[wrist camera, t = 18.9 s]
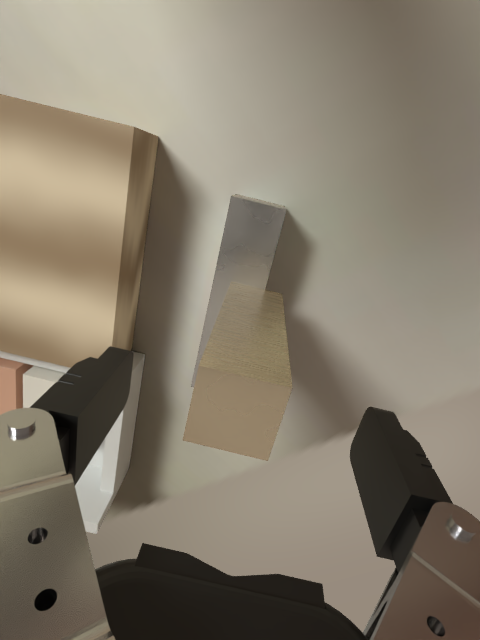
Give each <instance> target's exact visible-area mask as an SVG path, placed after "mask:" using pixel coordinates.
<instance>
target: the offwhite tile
mask: <svg viewBox="0 0 480 640" xmlns="http://www.w3.org/2000/svg"><path fill="white" fill-rule="evenodd" d="M64 374H66V373H63V372H59V371H55V370H51V369H46V368H42V367H38V366H33V367H32V368H30V369H29V370H28V371H26V372H25V373H24V374H23V408H30V407H31V406H32V405H33V404H34V403H35V402H36V401H37V400H38V399H39V398H40V397H41V396H42V395H43V394H44V393H45V392H46V391H47V390H48V389H49V388H50V387H51V386H53V385H54V384H55V383H56V382H58V380H59V379H60V378H61V377H62V376H63V375H64Z"/></svg>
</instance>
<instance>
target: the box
mask: <svg viewBox="0 0 480 640" xmlns="http://www.w3.org/2000/svg"><path fill="white" fill-rule="evenodd" d="M133 355H134V357H133V367H132V375H131V384H130V392H129V396H128V400H127V403H126V405H125V407H124V409H123V411H122V412H121V414H120V415H119V417H118V419H117V420H116V422H115V423H114V425H113V426H112V428H111V430H110V431H109V433H108V434H107V436H106V437H105V439H104V441H103V442H102V444H101V445H100V447H99V449H98V450H97V452H96V453H95V455H94V456H93V458H92V460H91V461H90V463H89V464H88V466H87V468H86V469H85V471H84V472H83V474H82V475H81V477H80V479H79V480H78V482H77V483H76V485H75V489H76V493H77V498H78V502H79V506H80V510H81V514H82V518H83V522H84V526H85V531H87V532H91V533H95V534H97V533H98V531H99V529H100V527H101V525H102V522H103V520H104V518H105V516H106V514H107V512H108V510H109V508H110V506H111V504H112V502H113V500H114V498H115V496H116V494H117V492H118V490H119V488H120V486H121V484H122V482H123V480H124V478H125V476H126V474H127V472H128V469H129V466H130V459H131V451H132V444H133V437H134V430H135V423H136V416H137V409H138V402H139V395H140V388H141V381H142V374H143V367H144V360H145V354H142V353H138V352H134V351H133ZM0 358H4V359H9V360H13V361H17V362H21V363H25V364H30V365H34V366H38V367H42V368H46V369H51V370H55V371H59V372H63V373H66V372H67V371H68V370H69V369H70V367H65V366H61V365H57V364H53V363H49V362H44V361H40V360H36V359H32V358H28V357H23V356H19V355H15V354H11V353H7V352H2V351H0Z"/></svg>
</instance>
